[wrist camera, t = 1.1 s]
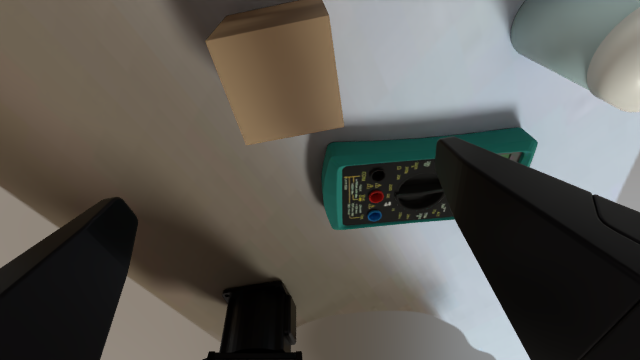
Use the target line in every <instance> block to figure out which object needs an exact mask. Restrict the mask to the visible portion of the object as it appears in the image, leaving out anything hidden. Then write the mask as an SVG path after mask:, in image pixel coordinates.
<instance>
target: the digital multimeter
mask: <svg viewBox="0 0 640 360" xmlns="http://www.w3.org/2000/svg"><path fill="white" fill-rule="evenodd" d="M451 136H454V137H457V138H459V139H462V140H464V141H467V142H469V143H472V144H474V145H476V146H479V147H481V148H484V149H486V150H489V151H491V152H493V153H496V154H498V155H501V156H503V157H506V158H508V159H511V160H513V161H515V162H518V163H520V164H523V165H525V166H528V167H530V164H531V162H532V159H533V156H534V153H535V150H536V148H537V144H538V142H537V141H536V140H535V139H534V138H533V137H531V136H530V135H529V134H528V133H527V132H525V131H524V130H523V129H522V128H510V129H502V130H494V131H486V132H478V133H470V134H462V135H450V136H439V137H428V138H418V139H400V140H382V141H358V142H333V143H330V144H329V145H328V146H327V150H326V154H325V158H324V162H323V168H322V176H321V180H322V193H323V202H324V207H325V210H326V214H327V217H328V219H329V222H330V224H331V226H332V228H333V229H335V230H346V229H356V228H365V227H375V226H385V225H395V224H405V223H416V222H429V221H441V220H454V219H455V218H454V216H453V214H452V212H451V209H450V207H449V204H448V202H447V199H446V196H445V194H444V191H443V189H442V186H441V183H440V181H439V178H438V176H437V173H436V170H435V159H434V158H435V155H436V145H437V141H438V140H439V139H441V138H446V137H451ZM421 159H426V160H421ZM410 160H414V161H410ZM398 161H402V162H398ZM386 162H389V163H386ZM363 164H365V165H363ZM395 193H396V194H395ZM441 199H442V200H441ZM440 200H441V201H440ZM439 201H440V202H439Z"/></svg>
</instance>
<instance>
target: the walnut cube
mask: <svg viewBox="0 0 640 360" xmlns="http://www.w3.org/2000/svg"><path fill="white" fill-rule="evenodd" d="M205 42H206V44H207V47H208V49H209V52H210V54H211V57H212V60H213V62H214V65H215V67H216V70H217V72H218V75H219V77H220V80H221V82H222V85H223V88H224V90H225V93H226V95H227V98H228V100H229V103H230V105H231V108H232V110H233V113H234V115H235V118H236V121H237V123H238V126H239V128H240V131H241V133H242V136H243V138H244V141H245V143H246V145H251V144H256V143H261V142H267V141H272V140H277V139H283V138H288V137H293V136H299V135H304V134H309V133H315V132H320V131H325V130H331V129H336V128H341V127H344V121H343V114H342V107H341V99H340V92H339V85H338V77H337V70H336V63H335V56H334V48H333V41H332V34H331V27H330V19H329V14H328V12H327V10H326V8H325V5H324V3H323V1H322V0H298V1H293V2H289V3H284V4H279V5H275V6H270V7H265V8H261V9H256V10H251V11H247V12H242V13H237V14H233V15H228V16H226V17H225V18H224V19H223V21H222V22H221V23H220V24H219V25H218V27H217V28H216V29H215V30H214V31H213V33H212V34H211V35H210V36H209V37H208V38H207V40H206V41H205Z"/></svg>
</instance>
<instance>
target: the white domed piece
mask: <svg viewBox="0 0 640 360" xmlns="http://www.w3.org/2000/svg"><path fill="white" fill-rule="evenodd" d="M511 42H512V45H513V47H514V49H515V50H516V51H517V52H518V53H519V54H521V55H523V56H525V57H526V58H528V59H530V60H532V61H534V62H536V63H538V64H540V65H542V66H544V67H546V68H548V69H549V70H551V71H553V72H555V73H557V74H559V75H561V76H563V77H565V78H567V79H569V80H571V81H572V82H574V83H576V84H578V85H580V86H582V87H584V88H586V89H588V90H590V92H591V93H592V94H593V95H594V96H596V97H597V98H599V99H601V100H603V101H605V102H607V103H609V104H610V105H612V106H614V107H616V108H618V109H620V110H622V111H626V112H640V0H526V1H525V2H524V3H523V5H522V6H521V7H520V9H519V11H518V12H517V14H516V16H515V19H514V21H513V24H512V28H511Z"/></svg>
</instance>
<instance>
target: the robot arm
mask: <svg viewBox="0 0 640 360" xmlns="http://www.w3.org/2000/svg"><path fill="white" fill-rule="evenodd" d="M435 170H436V173H437V176H438V178H439V181H440V183H441V186H442V189H443V191H444V194H445V196H446V199H447V202H448V204H449V207H450V209H451V212H452V214H453V216H454V218H455V220H456V222H457V224H458V226H459V228H460V230H461V232H462V234H463V236H464V237H465V239H466V241H467V243H468V245H469V247H470V248H471V250H472V252H473V254H474V256H475V258H476V260H477V261H478V263H479V265H480V267H481V269H482V271H483V273H484V274H485V276H486V278H487V280H488V282H489V284H490V285H491V287H492V289H493V291H494V293H495V295H496V297H497V298H498V300H499V302H500V304H501V306H502V308H503V310H504V311H505V313H506V315H507V317H508V319H509V321H510V322H511V324H512V326H513V328H514V330H515V332H516V334H517V335H518V337H519V339H520V341H521V343H522V345H523V347H524V348H525V350H526V352H527V354H528V356H529V358H530V359H531V360H640V212H638V211H635V210H633V209H630V208H628V207H625V206H622V205H620V204H618V203H615V202H613V201H610V200H608V199H605V198H603V197H601V196H598V195H592V193H591V192H588V191H586V190H583V189H581V188H579V187H576V186H574V185H571V184H569V183H566V182H564V181H562V180H559V179H557V178H554V177H552V176H549V175H547V174H545V173H542V172H540V171H537V170H535V169H532V168H530V167H528V166H525V165H523V164H520V163H518V162H515V161H513V160H511V159H508V158H506V157H503V156H501V155H498V154H496V153H493V152H491V151H489V150H486V149H484V148H481V147H479V146H476V145H474V144H472V143H469V142H467V141H464V140H462V139H459V138H457V137H454V136H451V137H446V138H441V139H439V140H438V141H437V145H436V155H435ZM137 226H138V219H137V217H136V215H135V214H134V213H133V211H132V210H131V209H130V208H129V206H128V205H127V204H126V203H125V201H124V200H123V199H121V198H119V197H113V198H108V199H104V200H101V201H100V202H98V203H97V204H95V205H94V206H92V207H91V208H89V209H88V210H86V211H85V212H83V213H82V214H80V215H79V216H78V217H76V218H75V219H73V220H72V221H70V222H69V223H67V224H66V225H64V226H63V227H61V228H60V229H58V230H57V231H55V232H54V233H52V234H51V235H49V236H48V237H46V238H45V239H43V240H42V241H40V242H39V243H37V244H36V245H34V246H33V247H31V248H30V249H28V250H27V251H25V252H24V253H23V254H21V255H19V256H18V257H17V258H15V259H14V260H12V261H11V262H9V263H8V264H6V265H5V266H3V267H2V268H0V360H100V358H101V355H102V352H103V348H104V346H105V342H106V339H107V336H108V333H109V330H110V327H111V324H112V321H113V317H114V314H115V311H116V308H117V305H118V302H119V298H120V296H121V292H122V289H123V286H124V283H125V280H126V277H127V273H128V269H129V265H130V260H131V255H132V251H133V246H134V241H135V236H136V231H137ZM222 296H223V298H224V299H225V301H226V302H227V303H228V306H227V312H226V318H225V323H224V329H223V334H222V340H221V346H220V351H219V353H215V352H214V351H211V352H209V353H208V357H207V358H206V359H203V360H302V352H301V351H296V352H294V353H293V352H291V345H294V344H295V343H296V306H295V303H294V301H293V299H292V297H291V295H289V294H288V293H287V291H286V288H285V286H284V284H283V283H282V282H280V281H277V282H271V283H265V284H259V285H253V286H246V287H240V288H234V289H228V290H224V291H223V294H222Z"/></svg>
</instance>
